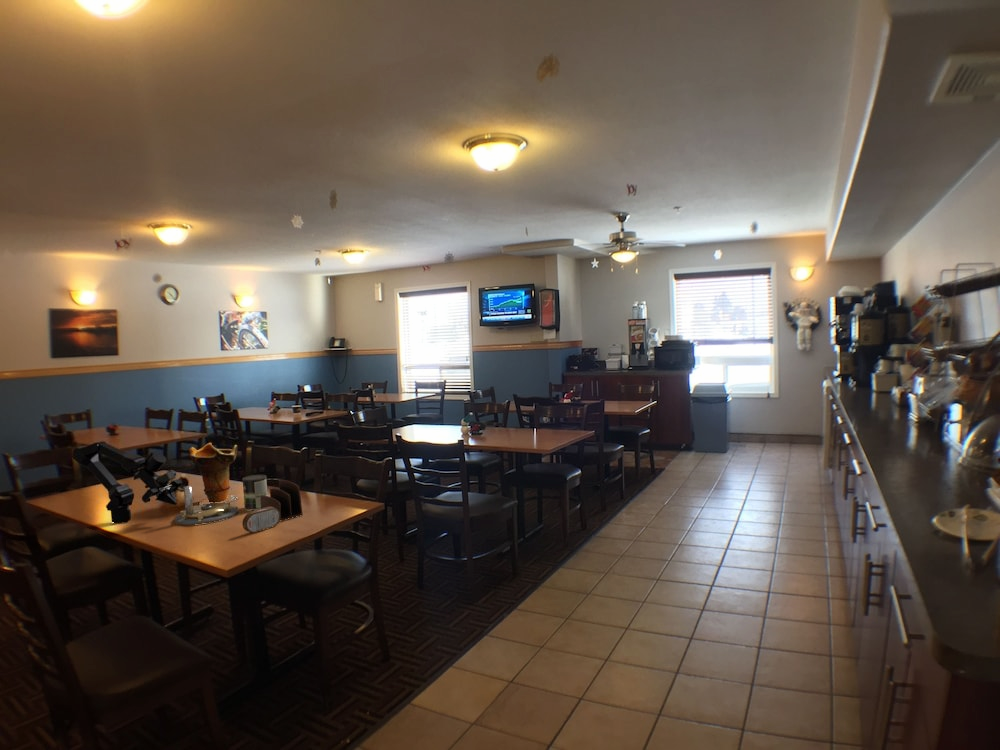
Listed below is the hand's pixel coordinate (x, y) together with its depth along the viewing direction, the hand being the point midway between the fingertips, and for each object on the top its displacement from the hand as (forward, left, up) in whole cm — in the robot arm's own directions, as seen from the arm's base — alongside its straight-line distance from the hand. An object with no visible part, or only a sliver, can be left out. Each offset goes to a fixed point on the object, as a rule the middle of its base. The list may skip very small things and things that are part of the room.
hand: (176, 504), depth 253 cm
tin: (+34, -31, -8) cm, 47 cm away
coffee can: (+31, +6, -8) cm, 33 cm away
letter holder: (+42, -12, -8) cm, 44 cm away
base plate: (+11, +2, -8) cm, 14 cm away
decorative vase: (+13, +30, -8) cm, 34 cm away
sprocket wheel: (+11, +2, -6) cm, 13 cm away
